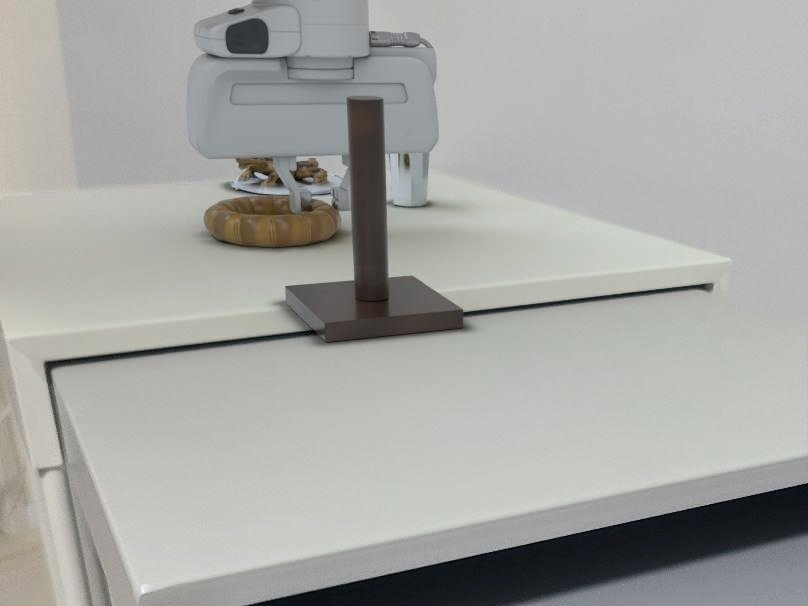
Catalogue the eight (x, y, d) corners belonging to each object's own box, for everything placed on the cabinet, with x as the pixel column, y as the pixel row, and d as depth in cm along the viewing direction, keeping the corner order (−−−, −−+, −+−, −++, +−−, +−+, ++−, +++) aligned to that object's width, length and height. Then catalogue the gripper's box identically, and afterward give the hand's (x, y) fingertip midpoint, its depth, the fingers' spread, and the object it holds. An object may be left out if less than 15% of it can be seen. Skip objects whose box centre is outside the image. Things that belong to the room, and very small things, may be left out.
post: (325, 342, 64) (312, 107, 58) (285, 303, 71) (270, 89, 65) (463, 327, 68) (464, 105, 62) (412, 292, 75) (409, 89, 69)
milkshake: (446, 201, 105) (445, 91, 100) (418, 210, 101) (416, 95, 96) (406, 196, 107) (404, 87, 102) (376, 204, 102) (373, 91, 98)
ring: (222, 253, 83) (219, 222, 82) (195, 225, 91) (192, 196, 90) (357, 244, 87) (356, 214, 86) (318, 218, 96) (317, 190, 95)
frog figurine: (267, 200, 102) (263, 158, 100) (207, 181, 110) (203, 141, 108) (367, 189, 109) (366, 150, 107) (304, 172, 117) (302, 134, 115)
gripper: (422, 30, 90) (423, 198, 97) (172, 24, 82) (192, 210, 88) (450, 34, 86) (450, 212, 92) (188, 29, 77) (208, 225, 83)
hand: (321, 211), depth 90 cm, fingers closed on ring, 2 cm apart
